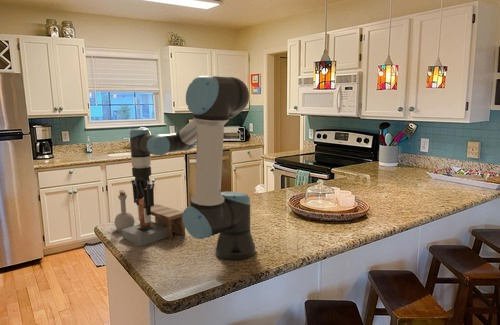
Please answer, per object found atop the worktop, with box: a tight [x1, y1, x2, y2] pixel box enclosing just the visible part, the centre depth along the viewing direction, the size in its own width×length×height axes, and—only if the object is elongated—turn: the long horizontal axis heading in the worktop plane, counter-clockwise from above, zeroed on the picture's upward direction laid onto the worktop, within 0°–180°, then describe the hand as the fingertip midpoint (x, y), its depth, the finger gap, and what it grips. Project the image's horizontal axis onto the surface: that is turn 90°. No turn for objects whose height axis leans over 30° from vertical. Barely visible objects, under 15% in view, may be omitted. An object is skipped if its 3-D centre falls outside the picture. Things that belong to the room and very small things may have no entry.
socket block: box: [121, 221, 167, 247], centre depth 155 cm, size 14×14×4 cm
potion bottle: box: [114, 189, 136, 232], centre depth 165 cm, size 9×9×18 cm
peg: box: [138, 198, 150, 228], centre depth 154 cm, size 4×4×12 cm
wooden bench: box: [151, 203, 186, 241], centre depth 161 cm, size 21×8×10 cm, turn 49°
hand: (144, 220), depth 155 cm, fingers closed on peg, 4 cm apart
